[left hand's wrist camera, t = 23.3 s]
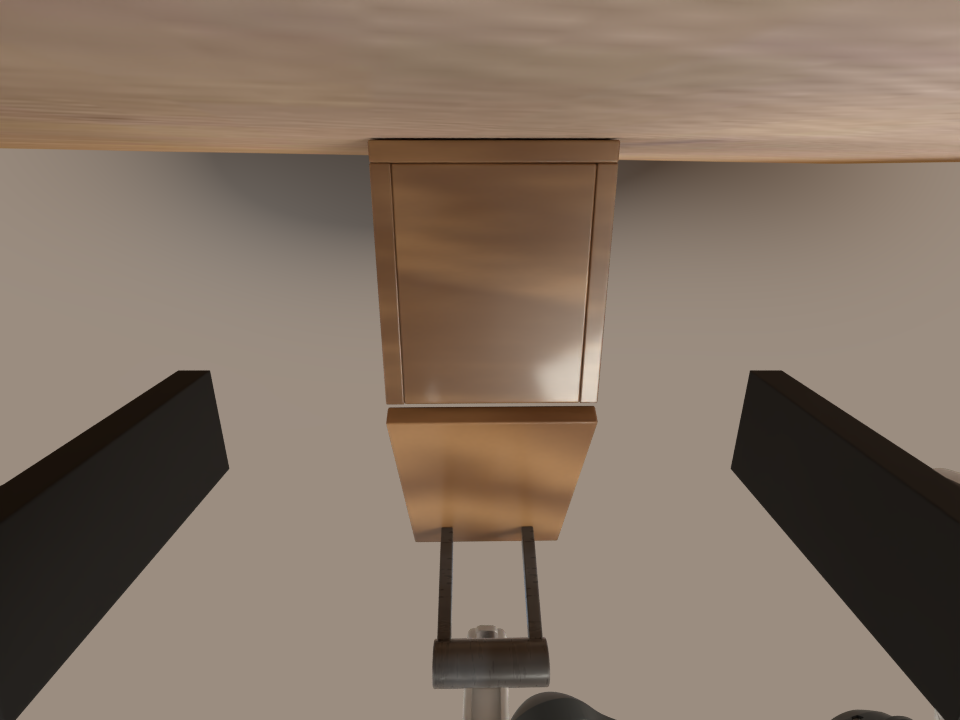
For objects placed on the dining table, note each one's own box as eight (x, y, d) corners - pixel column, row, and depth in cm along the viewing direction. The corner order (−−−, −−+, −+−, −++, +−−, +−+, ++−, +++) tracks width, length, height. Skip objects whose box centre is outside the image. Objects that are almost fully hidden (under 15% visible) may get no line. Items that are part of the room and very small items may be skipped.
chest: (560, 153, 30) (551, 319, 34) (409, 153, 30) (416, 320, 34) (620, 139, 18) (597, 403, 22) (367, 139, 18) (386, 404, 22)
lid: (556, 527, 33) (574, 692, 27) (416, 528, 33) (405, 694, 27) (595, 405, 22) (639, 633, 16) (388, 406, 22) (359, 638, 16)
